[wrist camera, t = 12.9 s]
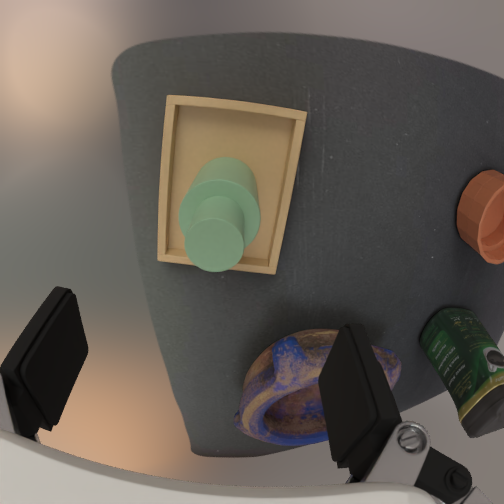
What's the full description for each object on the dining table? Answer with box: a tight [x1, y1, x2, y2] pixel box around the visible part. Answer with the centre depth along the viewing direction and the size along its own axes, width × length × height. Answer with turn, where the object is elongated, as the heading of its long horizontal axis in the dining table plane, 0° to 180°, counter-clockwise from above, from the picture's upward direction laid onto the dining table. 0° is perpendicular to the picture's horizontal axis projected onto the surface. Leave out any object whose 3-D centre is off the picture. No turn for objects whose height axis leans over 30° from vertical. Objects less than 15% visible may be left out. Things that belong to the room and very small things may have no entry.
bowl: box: [234, 329, 401, 446], centre depth 35 cm, size 18×18×10 cm
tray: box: [158, 95, 307, 275], centre depth 28 cm, size 16×12×2 cm
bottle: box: [178, 157, 261, 272], centre depth 23 cm, size 6×6×12 cm
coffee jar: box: [420, 308, 504, 438], centre depth 30 cm, size 10×8×19 cm
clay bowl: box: [457, 170, 504, 264], centre depth 28 cm, size 10×10×5 cm
